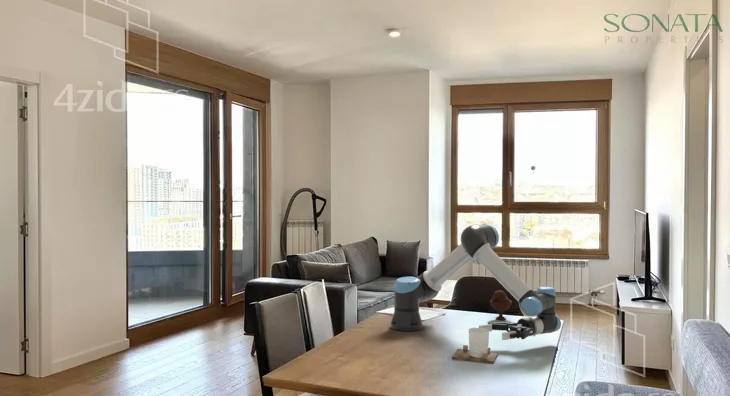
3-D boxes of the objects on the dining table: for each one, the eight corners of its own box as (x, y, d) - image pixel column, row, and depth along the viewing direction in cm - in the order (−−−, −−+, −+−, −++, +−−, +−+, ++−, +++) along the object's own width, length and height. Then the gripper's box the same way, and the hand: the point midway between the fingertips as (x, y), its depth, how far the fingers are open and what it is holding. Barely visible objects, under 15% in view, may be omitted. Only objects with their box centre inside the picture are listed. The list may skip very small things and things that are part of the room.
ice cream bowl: (514, 321, 287) (514, 291, 286) (491, 321, 287) (492, 291, 287) (509, 317, 297) (509, 288, 297) (487, 316, 298) (488, 287, 297)
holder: (451, 359, 223) (451, 351, 223) (457, 351, 234) (457, 343, 234) (493, 363, 218) (493, 356, 218) (497, 355, 229) (497, 347, 229)
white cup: (489, 359, 220) (489, 333, 220) (468, 357, 222) (468, 331, 222) (488, 353, 228) (488, 328, 228) (468, 352, 229) (468, 327, 229)
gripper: (552, 342, 230) (513, 349, 219) (508, 329, 251) (470, 335, 241) (552, 323, 229) (513, 330, 219) (508, 312, 251) (470, 317, 241)
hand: (490, 332), depth 230 cm, fingers open, 13 cm apart
